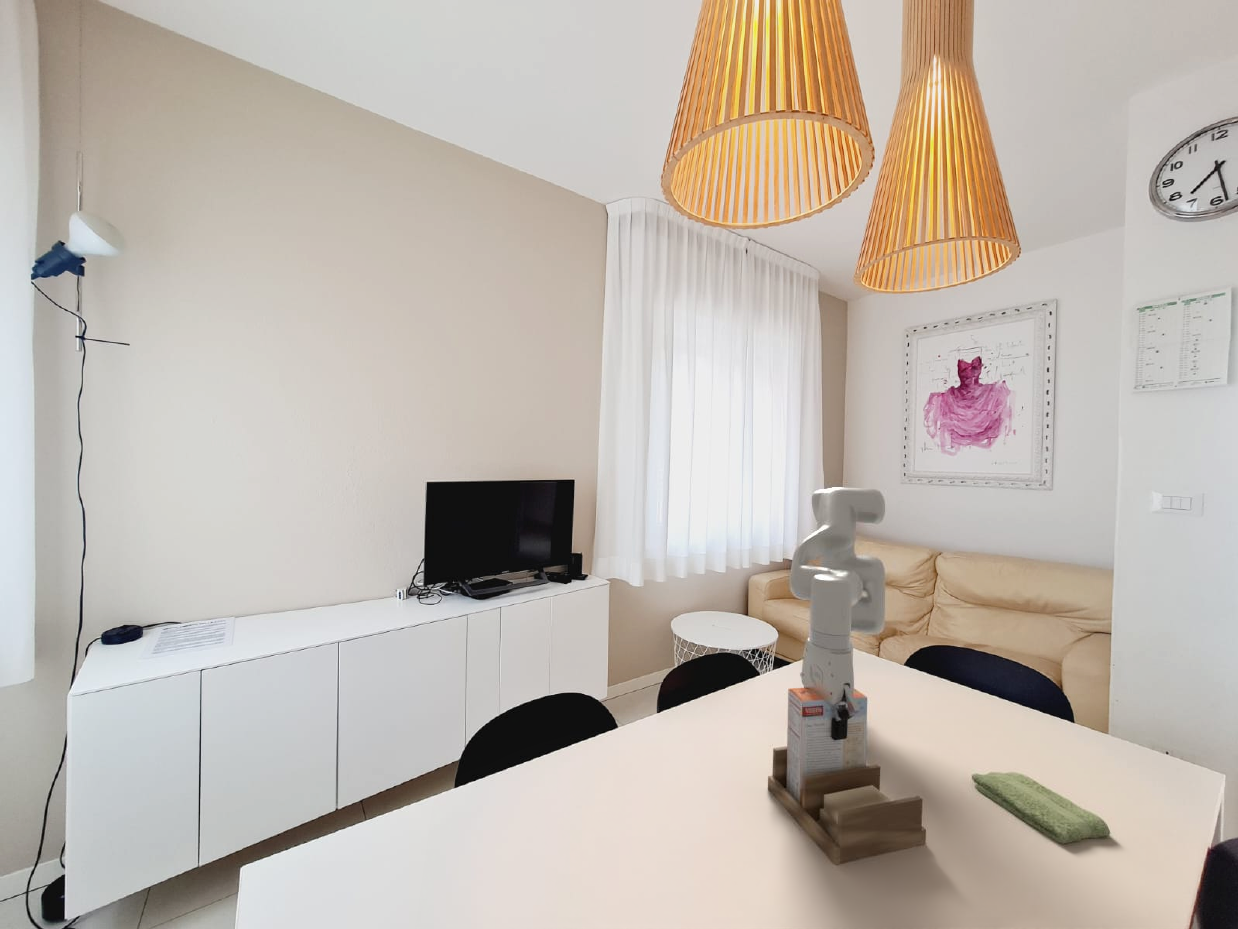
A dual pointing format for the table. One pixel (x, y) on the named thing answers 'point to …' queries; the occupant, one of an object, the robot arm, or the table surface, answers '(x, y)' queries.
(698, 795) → the table surface
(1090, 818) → the washcloth
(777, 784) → the rack
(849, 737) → the cracker box
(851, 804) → the wooden block
